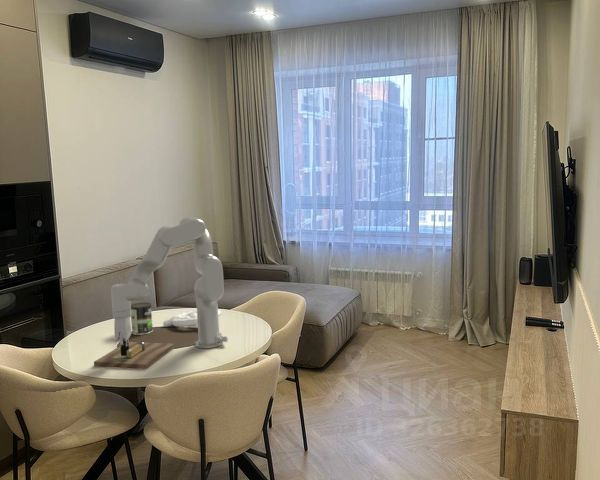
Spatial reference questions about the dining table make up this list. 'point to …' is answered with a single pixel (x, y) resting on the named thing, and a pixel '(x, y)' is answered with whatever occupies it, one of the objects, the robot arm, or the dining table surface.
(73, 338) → the dining table surface
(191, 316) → the pretzel
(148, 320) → the coffee can
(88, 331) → the dining table surface
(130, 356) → the peg
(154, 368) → the dining table surface
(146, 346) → the tuner board
